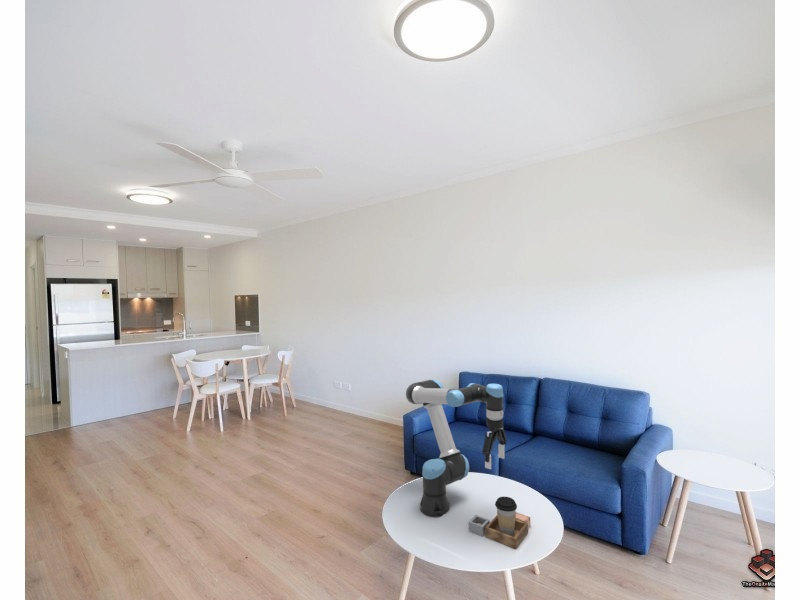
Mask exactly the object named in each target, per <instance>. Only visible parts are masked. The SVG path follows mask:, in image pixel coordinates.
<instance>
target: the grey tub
mask: <svg viewBox="0 0 800 600" xmlns="http://www.w3.org/2000/svg"><path fill="white" fill-rule="evenodd" d="M490 522H491V520H490V519H488V518H486V517H483V516H480V515H477V514H475V515H474V516H473V517H472V518H471V519H469V521H468V532H470V533H472V534H475V535H478V536H480V537H484V536H485V527H486V526H487V525H488V524H489V523H490ZM477 523H481V524H482V525H479V524H477Z"/></svg>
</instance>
